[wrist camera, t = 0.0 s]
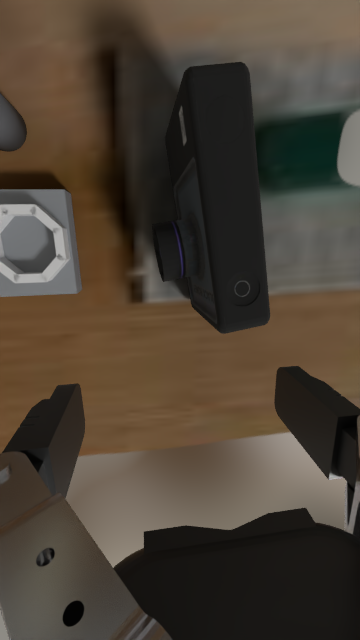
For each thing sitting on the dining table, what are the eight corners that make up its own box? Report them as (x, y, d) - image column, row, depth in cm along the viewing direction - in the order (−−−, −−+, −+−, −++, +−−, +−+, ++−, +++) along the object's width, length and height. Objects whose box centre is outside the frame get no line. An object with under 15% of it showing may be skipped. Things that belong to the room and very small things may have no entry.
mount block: (-7, 194, 34) (-32, 185, 29) (70, 193, 35) (59, 186, 30) (11, 292, 37) (-8, 299, 32) (82, 289, 38) (73, 296, 33)
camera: (135, 134, 34) (130, 56, 20) (212, 126, 35) (262, 46, 21) (163, 311, 41) (175, 350, 26) (228, 301, 41) (274, 332, 27)
